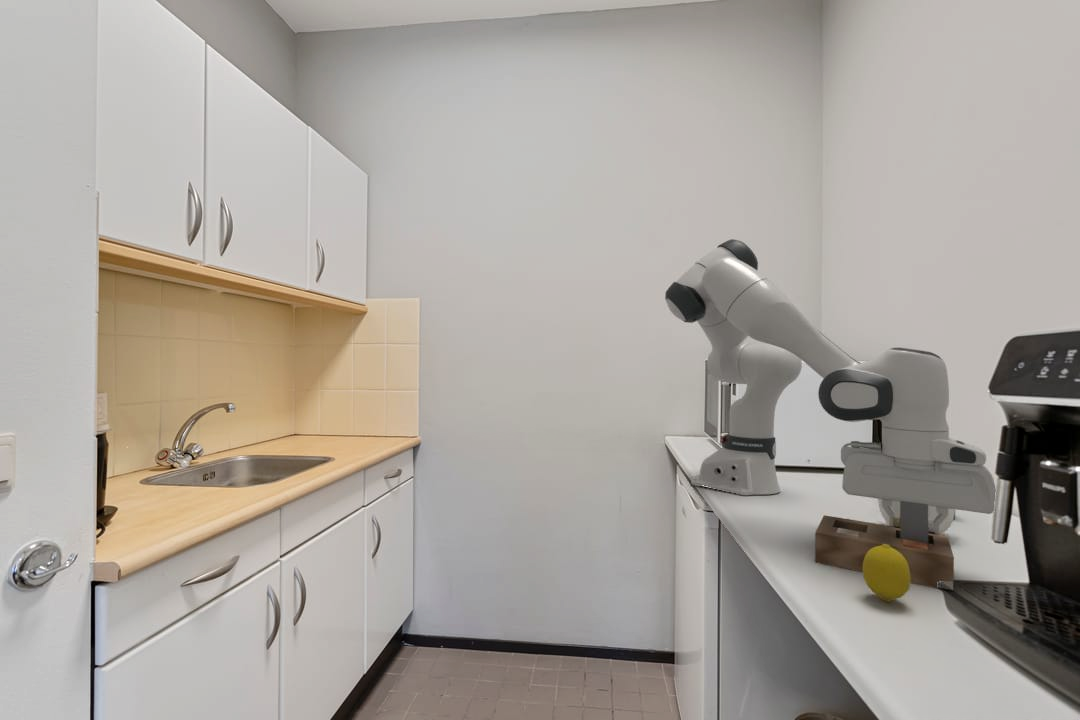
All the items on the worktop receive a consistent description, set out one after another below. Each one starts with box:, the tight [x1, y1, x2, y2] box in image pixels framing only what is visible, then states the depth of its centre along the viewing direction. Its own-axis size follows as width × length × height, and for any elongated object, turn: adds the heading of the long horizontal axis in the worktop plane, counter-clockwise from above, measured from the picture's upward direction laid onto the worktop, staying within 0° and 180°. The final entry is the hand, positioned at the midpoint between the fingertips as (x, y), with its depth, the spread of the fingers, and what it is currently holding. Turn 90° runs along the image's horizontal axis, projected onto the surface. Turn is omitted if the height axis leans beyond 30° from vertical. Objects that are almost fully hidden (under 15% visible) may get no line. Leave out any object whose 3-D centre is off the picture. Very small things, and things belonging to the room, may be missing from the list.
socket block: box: [814, 514, 955, 589], centre depth 83 cm, size 18×12×5 cm, turn 54°
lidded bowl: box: [877, 499, 956, 534], centre depth 99 cm, size 13×13×11 cm
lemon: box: [862, 544, 911, 603], centre depth 70 cm, size 6×6×8 cm
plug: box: [900, 501, 928, 543], centre depth 82 cm, size 4×4×9 cm
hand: (913, 530), depth 82 cm, fingers closed on plug, 4 cm apart
